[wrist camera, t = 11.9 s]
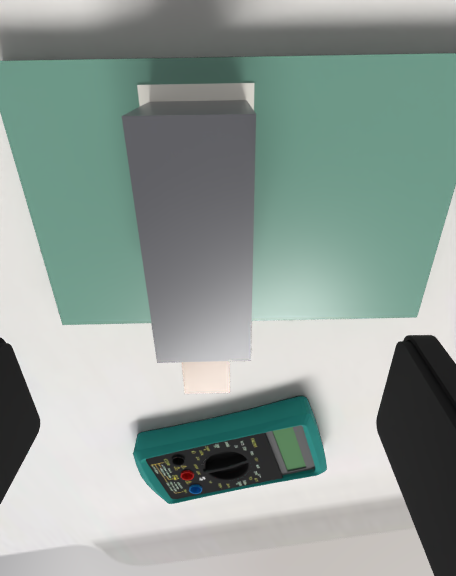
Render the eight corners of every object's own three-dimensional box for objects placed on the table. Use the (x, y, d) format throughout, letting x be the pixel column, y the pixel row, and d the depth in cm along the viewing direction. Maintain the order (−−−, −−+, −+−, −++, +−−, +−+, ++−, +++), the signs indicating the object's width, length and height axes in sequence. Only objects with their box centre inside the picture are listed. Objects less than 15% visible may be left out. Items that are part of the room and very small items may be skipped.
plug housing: (246, 99, 17) (256, 113, 12) (244, 338, 24) (249, 405, 19) (148, 101, 17) (121, 116, 12) (174, 339, 24) (163, 407, 19)
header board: (474, 53, 18) (555, 50, 13) (406, 304, 25) (445, 354, 21) (2, 61, 18) (-69, 60, 13) (70, 311, 25) (39, 363, 20)
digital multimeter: (130, 429, 31) (122, 461, 29) (306, 388, 29) (315, 419, 27) (164, 479, 35) (160, 512, 32) (323, 446, 33) (332, 478, 30)
